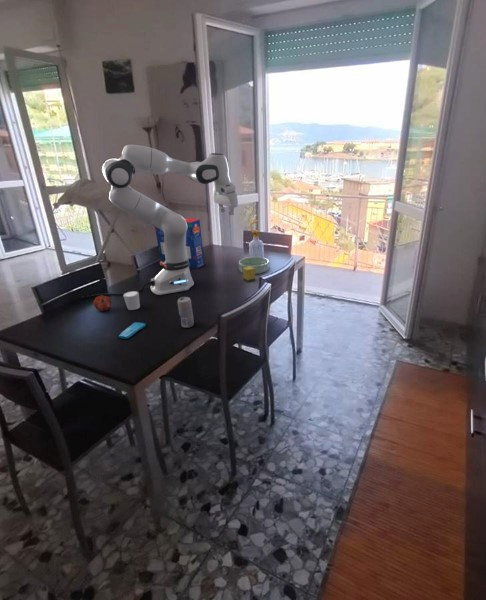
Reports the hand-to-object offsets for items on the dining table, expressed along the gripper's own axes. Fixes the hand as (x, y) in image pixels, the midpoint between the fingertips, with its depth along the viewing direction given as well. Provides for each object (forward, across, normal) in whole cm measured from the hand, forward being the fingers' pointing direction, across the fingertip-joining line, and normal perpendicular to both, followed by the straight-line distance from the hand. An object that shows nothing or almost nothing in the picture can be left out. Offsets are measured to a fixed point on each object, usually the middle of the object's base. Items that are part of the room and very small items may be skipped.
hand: (227, 213), depth 188 cm
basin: (+36, +1, +11) cm, 38 cm away
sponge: (+27, +31, -69) cm, 80 cm away
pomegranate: (+27, +2, -73) cm, 78 cm away
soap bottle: (+38, -15, +23) cm, 47 cm away
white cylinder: (+28, +8, -61) cm, 68 cm away
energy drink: (+29, +41, -48) cm, 69 cm away
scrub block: (+35, +14, -1) cm, 37 cm away
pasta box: (+34, -37, -18) cm, 53 cm away
